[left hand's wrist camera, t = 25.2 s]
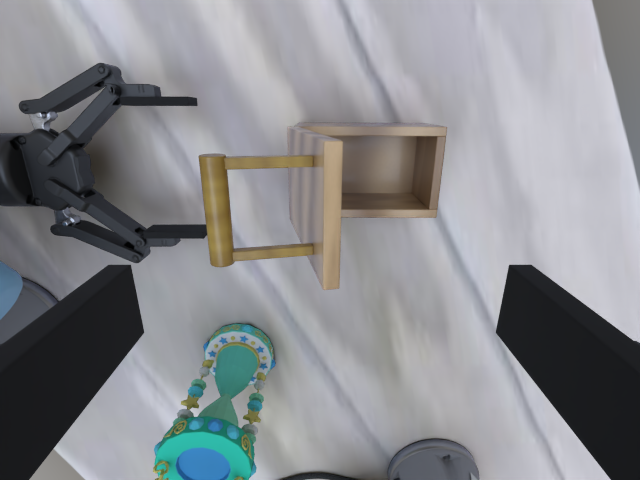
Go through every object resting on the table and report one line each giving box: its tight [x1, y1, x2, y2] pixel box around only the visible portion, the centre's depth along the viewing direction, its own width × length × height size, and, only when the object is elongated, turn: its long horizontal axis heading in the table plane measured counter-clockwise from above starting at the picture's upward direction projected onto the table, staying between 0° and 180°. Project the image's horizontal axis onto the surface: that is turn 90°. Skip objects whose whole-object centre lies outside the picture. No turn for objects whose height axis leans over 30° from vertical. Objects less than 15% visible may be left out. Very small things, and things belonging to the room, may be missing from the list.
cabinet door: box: [199, 127, 343, 290], centre depth 28 cm, size 16×9×8 cm
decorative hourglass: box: [153, 324, 276, 480], centre depth 40 cm, size 11×11×30 cm
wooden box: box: [294, 123, 447, 218], centre depth 41 cm, size 15×9×9 cm, turn 90°
